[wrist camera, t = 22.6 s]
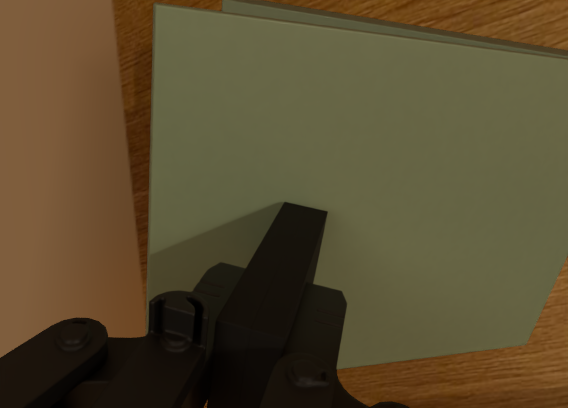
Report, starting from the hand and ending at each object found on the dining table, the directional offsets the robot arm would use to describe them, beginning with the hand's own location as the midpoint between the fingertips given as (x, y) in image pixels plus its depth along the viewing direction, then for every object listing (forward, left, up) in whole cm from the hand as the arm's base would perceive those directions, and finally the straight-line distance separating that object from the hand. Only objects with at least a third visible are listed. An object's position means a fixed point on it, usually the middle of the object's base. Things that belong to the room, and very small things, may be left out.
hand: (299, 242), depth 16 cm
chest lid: (+3, 0, -3) cm, 5 cm away
